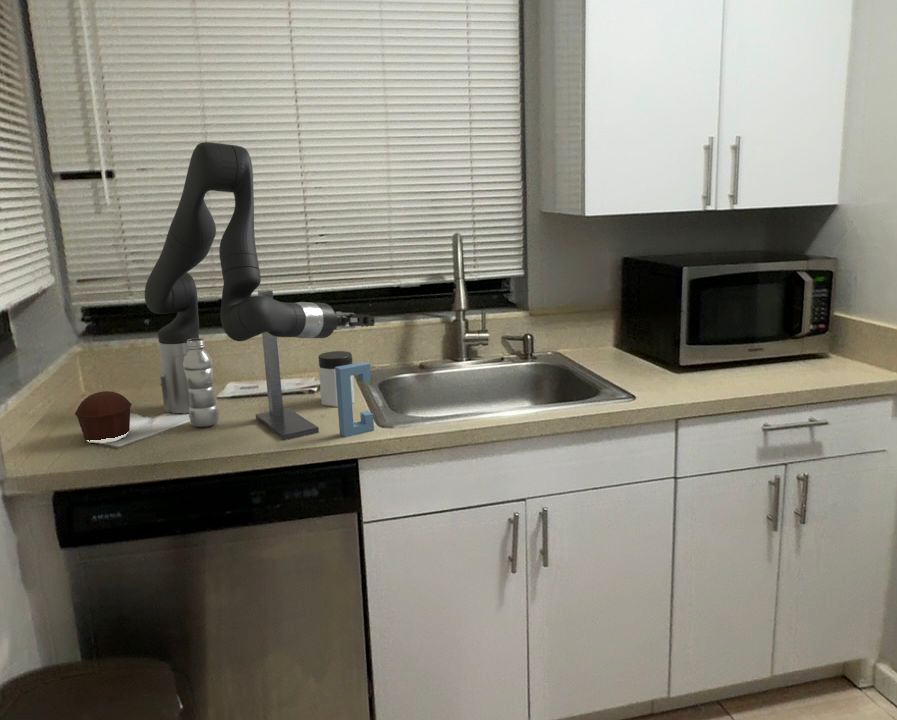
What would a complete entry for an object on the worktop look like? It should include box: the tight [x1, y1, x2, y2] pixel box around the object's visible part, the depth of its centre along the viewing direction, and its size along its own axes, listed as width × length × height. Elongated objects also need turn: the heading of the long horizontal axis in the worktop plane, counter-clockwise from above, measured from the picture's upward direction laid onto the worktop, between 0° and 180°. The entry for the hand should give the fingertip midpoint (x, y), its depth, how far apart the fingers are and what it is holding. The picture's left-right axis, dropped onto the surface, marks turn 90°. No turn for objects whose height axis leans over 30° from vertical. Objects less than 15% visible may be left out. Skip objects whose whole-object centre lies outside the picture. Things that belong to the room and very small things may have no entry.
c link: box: [335, 361, 375, 438], centre depth 163 cm, size 7×3×15 cm, turn 123°
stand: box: [255, 289, 320, 441], centre depth 167 cm, size 8×18×30 cm, turn 33°
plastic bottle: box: [183, 337, 220, 428], centre depth 170 cm, size 6×7×20 cm
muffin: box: [74, 391, 132, 441], centre depth 166 cm, size 12×11×10 cm
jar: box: [318, 350, 356, 408], centre depth 186 cm, size 9×8×12 cm
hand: (358, 321), depth 172 cm, fingers open, 8 cm apart
